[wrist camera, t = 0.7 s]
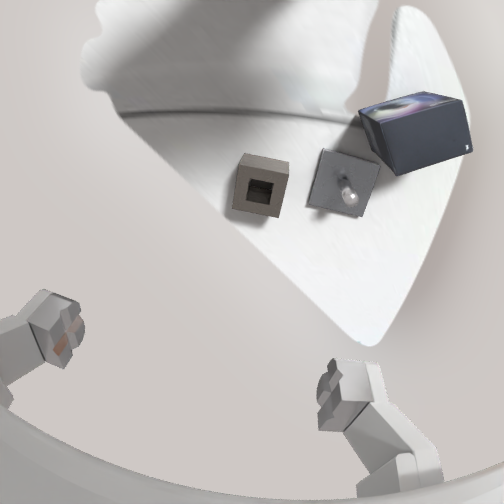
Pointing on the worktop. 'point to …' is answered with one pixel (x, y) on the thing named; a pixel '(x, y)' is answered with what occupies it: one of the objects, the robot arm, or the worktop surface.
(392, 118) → the small box
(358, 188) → the shaft stand
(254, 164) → the collar
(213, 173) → the worktop surface
